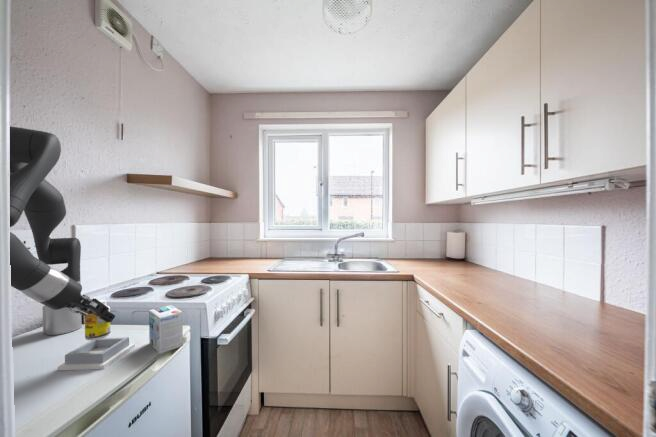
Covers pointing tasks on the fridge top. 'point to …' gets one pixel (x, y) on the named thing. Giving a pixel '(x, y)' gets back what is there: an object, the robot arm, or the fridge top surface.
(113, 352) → the grey tray
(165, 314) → the light bulb box
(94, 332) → the supplement bottle
